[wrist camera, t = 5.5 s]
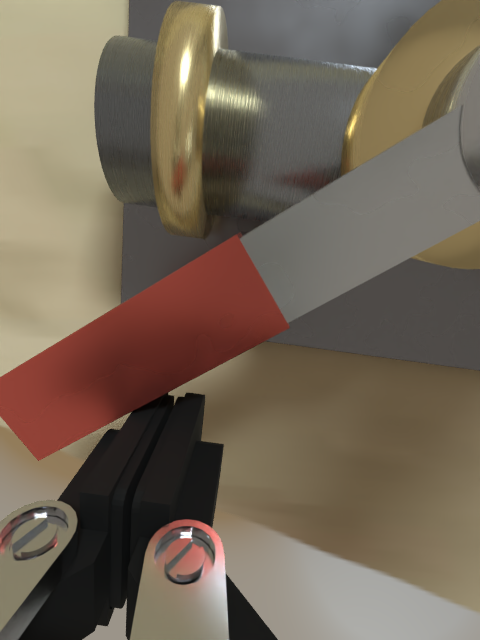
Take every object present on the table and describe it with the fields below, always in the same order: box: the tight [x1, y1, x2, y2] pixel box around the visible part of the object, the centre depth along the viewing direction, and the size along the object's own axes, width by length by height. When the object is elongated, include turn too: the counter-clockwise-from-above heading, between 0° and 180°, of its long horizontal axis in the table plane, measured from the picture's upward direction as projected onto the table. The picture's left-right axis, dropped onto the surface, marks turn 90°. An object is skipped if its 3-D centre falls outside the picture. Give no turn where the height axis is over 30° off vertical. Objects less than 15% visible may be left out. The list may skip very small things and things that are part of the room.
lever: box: [0, 45, 480, 461], centre depth 8 cm, size 15×4×2 cm, turn 121°
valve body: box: [94, 0, 480, 370], centre depth 11 cm, size 16×22×8 cm
